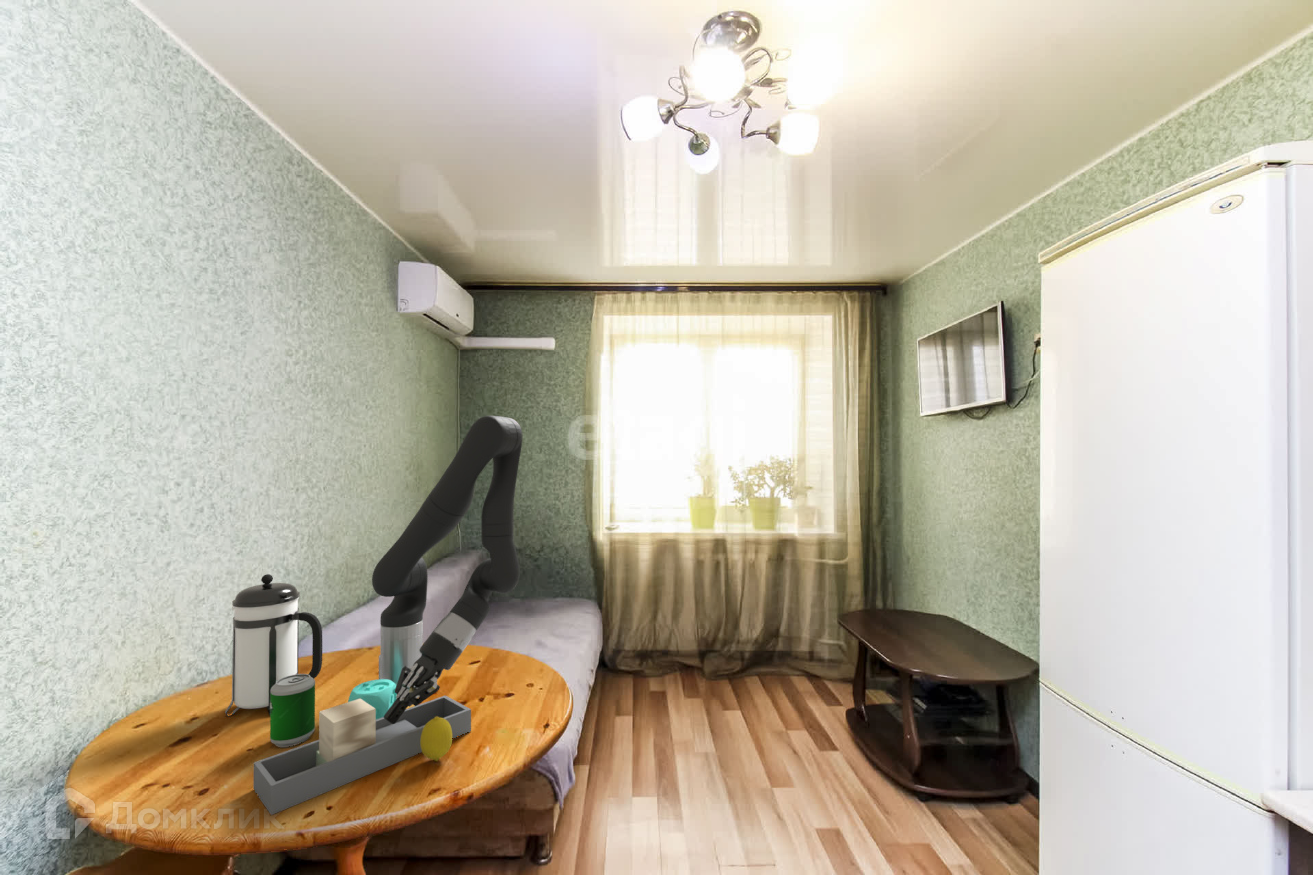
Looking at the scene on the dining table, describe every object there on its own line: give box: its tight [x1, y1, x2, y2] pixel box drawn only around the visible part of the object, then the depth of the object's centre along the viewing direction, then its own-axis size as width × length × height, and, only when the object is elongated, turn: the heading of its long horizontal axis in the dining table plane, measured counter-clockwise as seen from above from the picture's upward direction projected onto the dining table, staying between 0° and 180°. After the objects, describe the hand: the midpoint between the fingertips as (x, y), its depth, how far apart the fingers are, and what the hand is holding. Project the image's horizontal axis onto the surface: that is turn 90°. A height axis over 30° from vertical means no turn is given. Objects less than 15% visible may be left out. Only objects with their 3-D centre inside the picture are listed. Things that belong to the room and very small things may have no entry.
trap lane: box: [252, 695, 472, 816], centre depth 104 cm, size 35×11×4 cm, turn 138°
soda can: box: [269, 673, 316, 748], centre depth 112 cm, size 8×8×12 cm
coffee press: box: [224, 573, 323, 717], centre depth 128 cm, size 17×16×30 cm
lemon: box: [420, 716, 453, 762], centre depth 103 cm, size 6×6×8 cm
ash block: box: [318, 699, 376, 762], centre depth 100 cm, size 7×7×8 cm
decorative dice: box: [347, 678, 397, 720], centre depth 118 cm, size 8×8×8 cm
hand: (388, 720), depth 106 cm, fingers closed
